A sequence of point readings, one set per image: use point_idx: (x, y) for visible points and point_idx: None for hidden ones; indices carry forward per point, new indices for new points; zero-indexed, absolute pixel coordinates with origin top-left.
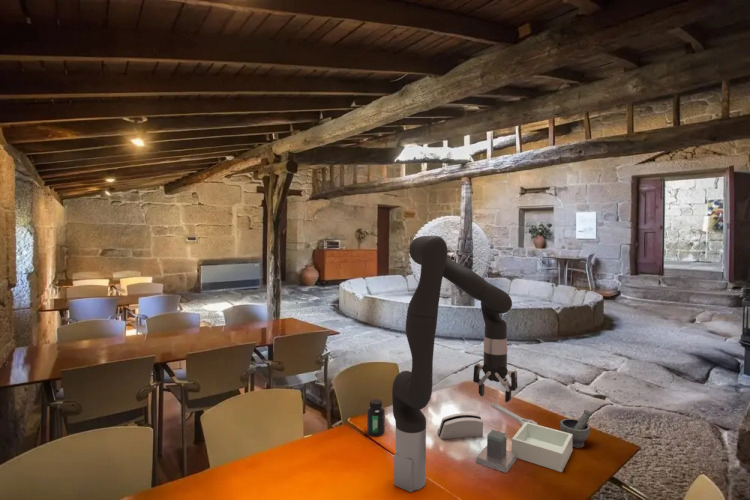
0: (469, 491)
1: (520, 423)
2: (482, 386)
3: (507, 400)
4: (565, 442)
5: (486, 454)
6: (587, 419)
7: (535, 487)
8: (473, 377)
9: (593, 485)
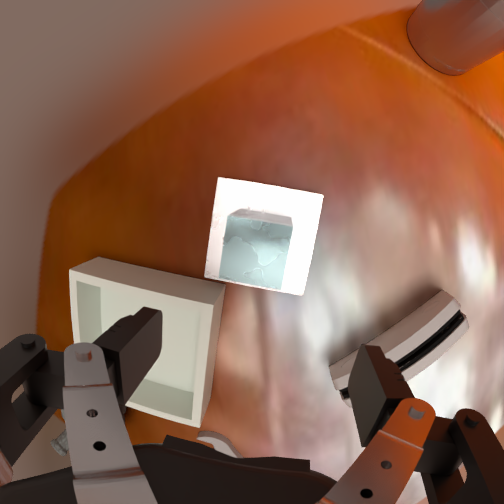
0: (300, 46)
1: (237, 452)
2: (380, 401)
3: (140, 315)
4: (78, 339)
5: (294, 226)
6: (62, 433)
7: (142, 148)
8: (495, 438)
9: (47, 232)
